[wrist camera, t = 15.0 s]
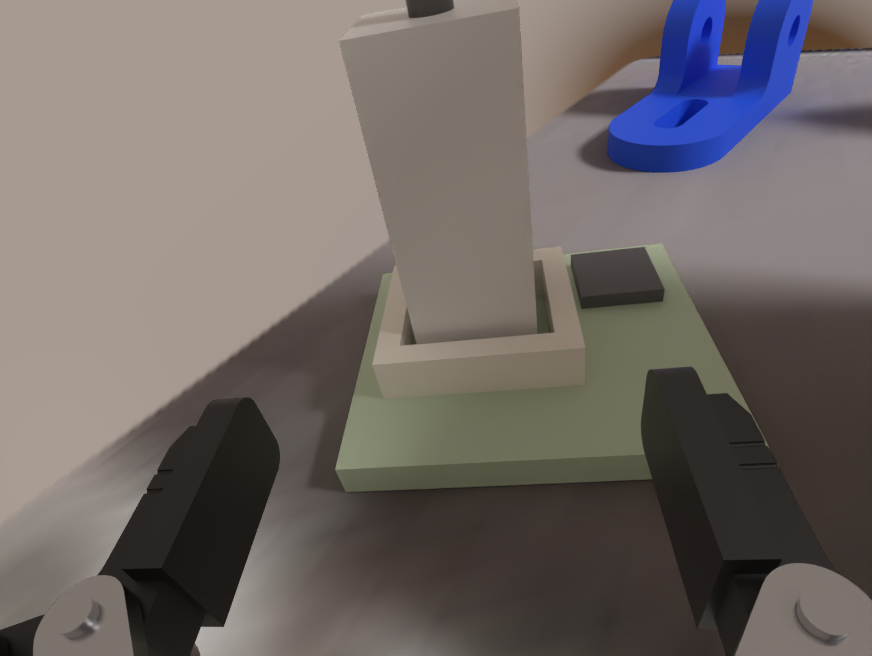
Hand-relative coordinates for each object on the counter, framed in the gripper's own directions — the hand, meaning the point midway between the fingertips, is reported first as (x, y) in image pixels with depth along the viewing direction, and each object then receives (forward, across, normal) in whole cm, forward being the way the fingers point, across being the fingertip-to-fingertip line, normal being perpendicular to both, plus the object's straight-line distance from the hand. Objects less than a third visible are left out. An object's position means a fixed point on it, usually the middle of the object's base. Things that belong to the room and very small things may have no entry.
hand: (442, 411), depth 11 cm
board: (+11, -2, +9) cm, 14 cm away
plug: (+11, 0, +8) cm, 13 cm away
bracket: (+36, -17, +9) cm, 41 cm away
